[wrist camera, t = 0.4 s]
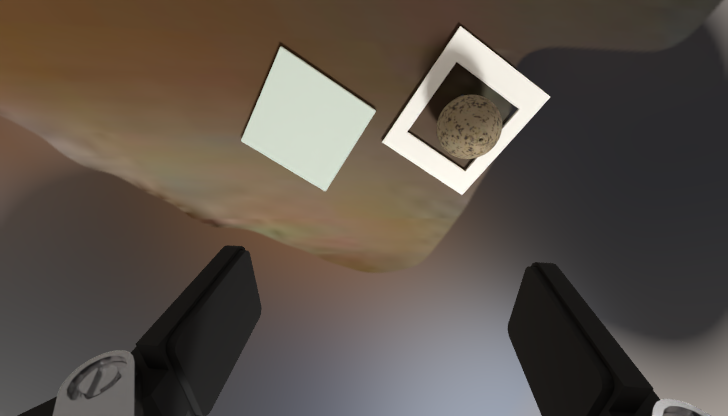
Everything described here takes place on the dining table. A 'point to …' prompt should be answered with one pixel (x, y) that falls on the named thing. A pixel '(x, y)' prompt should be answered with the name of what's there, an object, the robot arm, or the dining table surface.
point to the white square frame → (484, 68)
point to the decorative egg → (469, 126)
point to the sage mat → (306, 120)
